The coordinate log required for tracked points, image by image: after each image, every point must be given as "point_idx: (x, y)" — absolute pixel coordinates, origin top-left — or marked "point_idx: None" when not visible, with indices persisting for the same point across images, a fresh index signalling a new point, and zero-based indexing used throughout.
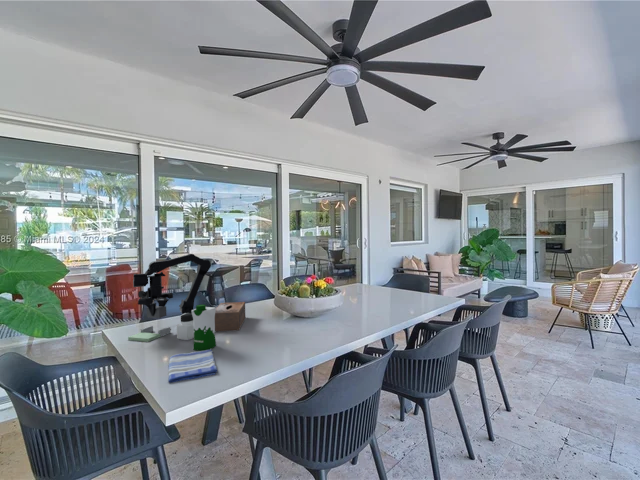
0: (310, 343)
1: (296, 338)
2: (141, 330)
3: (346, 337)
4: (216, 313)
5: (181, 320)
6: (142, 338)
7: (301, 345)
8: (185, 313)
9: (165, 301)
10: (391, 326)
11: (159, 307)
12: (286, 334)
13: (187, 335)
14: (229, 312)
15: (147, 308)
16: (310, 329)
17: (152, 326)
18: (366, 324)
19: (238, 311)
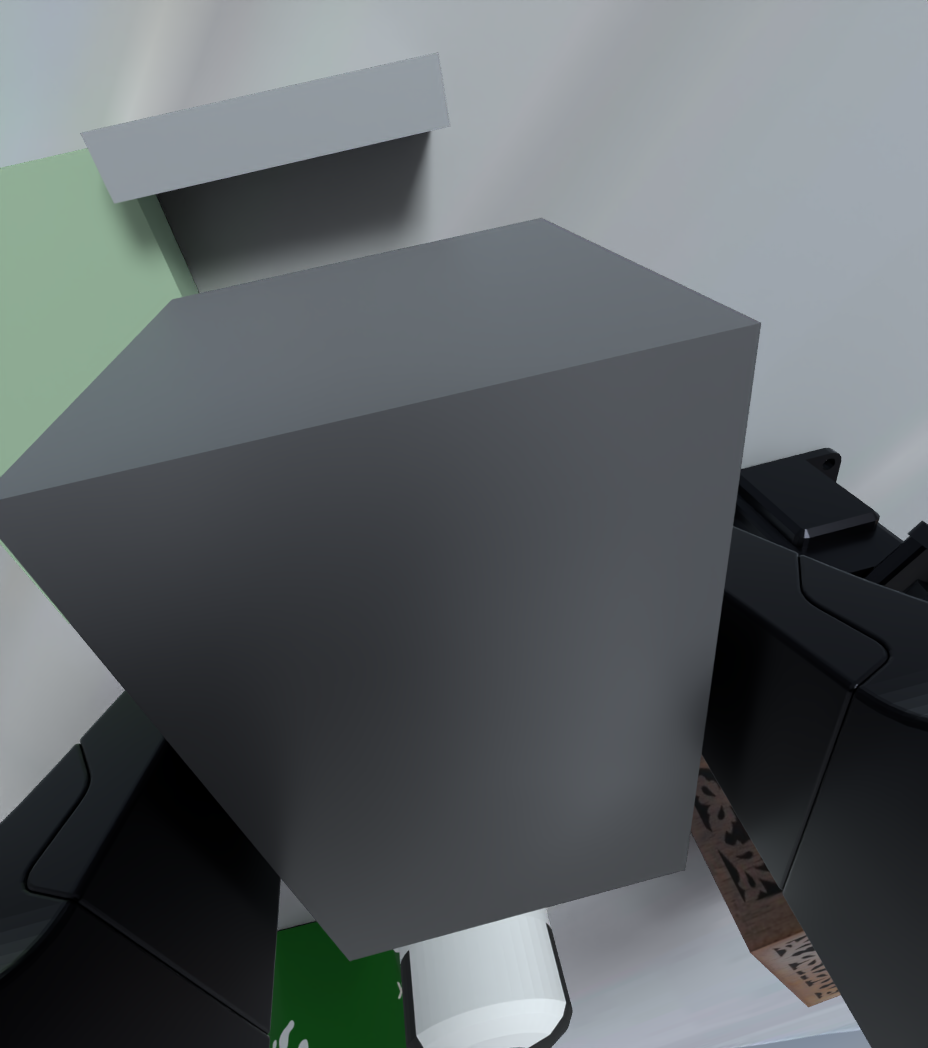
0: (594, 1039)
1: (637, 1004)
2: (103, 161)
3: (685, 1042)
4: (762, 962)
5: (403, 979)
6: (6, 550)
7: (563, 1040)
8: (512, 1039)
9: (892, 1045)
10: (820, 1033)
11: (477, 870)
12: (683, 970)
13: None
14: (797, 990)
15: (50, 550)
16: (770, 972)
17: (431, 130)
18: (846, 1006)
19: (834, 996)
